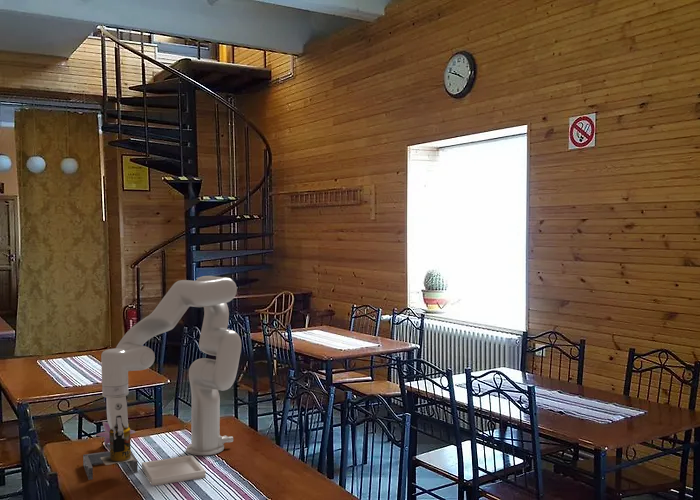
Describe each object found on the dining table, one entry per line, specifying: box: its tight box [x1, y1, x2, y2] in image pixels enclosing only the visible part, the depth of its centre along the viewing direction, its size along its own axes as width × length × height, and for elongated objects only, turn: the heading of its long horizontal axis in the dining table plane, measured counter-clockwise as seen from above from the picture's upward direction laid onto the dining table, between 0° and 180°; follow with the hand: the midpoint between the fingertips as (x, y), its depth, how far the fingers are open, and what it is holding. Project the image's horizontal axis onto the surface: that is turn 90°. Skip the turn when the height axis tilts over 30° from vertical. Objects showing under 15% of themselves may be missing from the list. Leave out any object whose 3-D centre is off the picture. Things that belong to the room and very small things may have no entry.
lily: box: [95, 421, 136, 445], centre depth 233 cm, size 12×12×10 cm
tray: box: [141, 454, 207, 487], centre depth 209 cm, size 16×16×2 cm
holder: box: [82, 450, 139, 481], centre depth 212 cm, size 14×14×4 cm
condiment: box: [101, 420, 134, 466], centre depth 204 cm, size 7×8×12 cm
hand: (117, 447), depth 205 cm, fingers closed on condiment, 6 cm apart
